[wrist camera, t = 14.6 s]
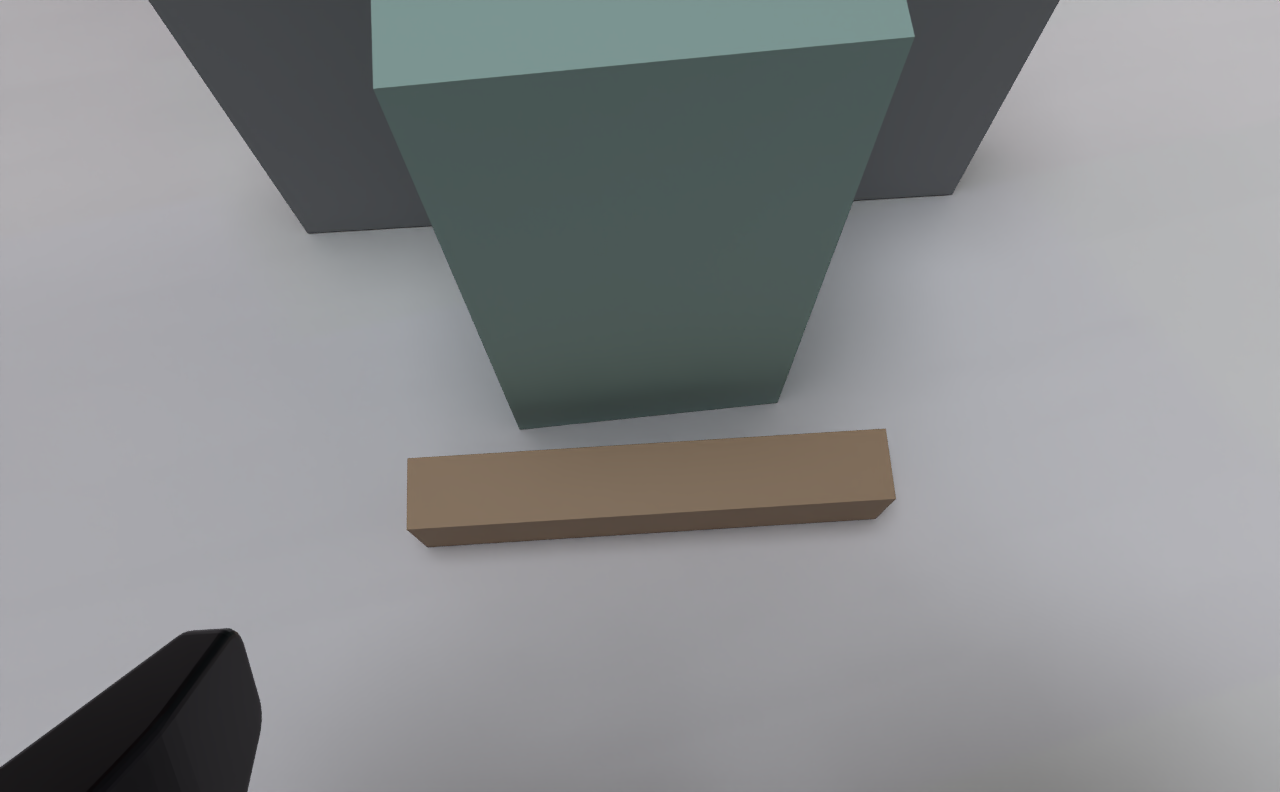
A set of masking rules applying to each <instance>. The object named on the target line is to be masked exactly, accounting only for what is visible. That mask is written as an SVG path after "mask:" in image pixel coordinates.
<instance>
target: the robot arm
mask: <svg viewBox="0 0 1280 792" xmlns="http://www.w3.org/2000/svg"><path fill="white" fill-rule="evenodd" d="M261 722H262V711H261V703H260V699H259V695H258V692H257V688H256V685H255V681H254V678H253V674H252V671H251V667H250V664H249V660H248V657H247V653H246V650H245V646H244V643H243V641H242V639H241V637H240V635H239V634H238V633H237V632H236V631H234V630H232V629H229V628H224V629H207V630H193V631H187V632H184V633H182V634H181V635H179V636H178V637H176V638H175V639H173V640H172V641H171V642H169V643H168V644H167V645H165V646H164V647H163V648H161V649H160V650H159V651H157V652H156V653H154V654H153V655H152V656H150V657H149V658H148V659H146V660H145V661H144V662H142V663H141V664H140V665H138V666H137V667H136V668H134V669H133V670H131V671H130V672H129V673H127V674H126V675H125V676H123V677H122V678H121V679H119V680H118V681H117V682H115V683H114V684H112V685H111V686H110V687H108V688H107V689H106V690H104V691H103V692H102V693H100V694H99V695H98V696H96V697H95V698H94V699H92V700H91V701H89V702H88V703H87V704H85V705H84V706H83V707H81V708H80V709H79V710H77V711H76V712H75V713H73V714H72V715H70V716H69V717H68V718H66V719H65V720H64V721H62V722H61V723H60V724H58V725H57V726H56V727H54V728H53V729H52V730H50V731H49V732H47V733H46V734H45V735H43V736H42V737H41V738H39V739H38V740H37V741H35V742H34V743H33V744H31V745H30V746H28V747H27V748H26V749H24V750H23V751H22V752H20V753H19V754H18V755H16V756H15V757H14V758H12V759H11V760H10V761H8V762H7V763H5V764H4V765H3V766H1V767H0V792H247V791H248V786H249V782H250V777H251V773H252V768H253V763H254V759H255V754H256V750H257V745H258V741H259V736H260V731H261Z"/></svg>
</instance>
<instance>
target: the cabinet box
mask: <svg viewBox="0 0 1280 792" xmlns="http://www.w3.org/2000/svg"><path fill="white" fill-rule="evenodd" d="M371 25H372V64H373V90H374V92H375V94H376V97H377V99H378V101H379V104H380V106H381V108H382V111H383V113H384V115H385V118H386V120H387V122H388V125H389V127H390V129H391V131H392V134H393V136H394V138H395V141H396V143H397V145H398V148H399V150H400V152H401V155H402V157H403V159H404V162H405V164H406V166H407V169H408V171H409V173H410V176H411V178H412V180H413V183H414V185H415V187H416V190H417V192H418V194H419V197H420V199H421V201H422V204H423V206H424V208H425V211H426V213H427V215H428V217H429V220H430V222H431V224H432V227H433V229H434V231H435V234H436V236H437V238H438V241H439V243H440V245H441V248H442V250H443V252H444V255H445V257H446V259H447V262H448V264H449V266H450V269H451V271H452V273H453V276H454V278H455V280H456V283H457V285H458V287H459V290H460V292H461V294H462V297H463V299H464V301H465V304H466V306H467V308H468V310H469V313H470V315H471V317H472V320H473V322H474V324H475V327H476V329H477V331H478V334H479V336H480V338H481V341H482V343H483V345H484V348H485V350H486V352H487V355H488V357H489V359H490V362H491V364H492V366H493V369H494V371H495V373H496V376H497V378H498V380H499V383H500V385H501V387H502V390H503V392H504V394H505V396H506V399H507V401H508V403H509V406H510V408H511V410H512V413H513V415H514V417H515V420H516V422H517V424H518V427H519V429H530V428H539V427H549V426H558V425H568V424H578V423H587V422H597V421H606V420H616V419H626V418H635V417H645V416H654V415H664V414H674V413H683V412H693V411H702V410H712V409H722V408H731V407H741V406H750V405H760V404H770V403H777V402H778V399H779V397H780V394H781V391H782V389H783V386H784V383H785V381H786V378H787V375H788V373H789V370H790V367H791V365H792V362H793V359H794V357H795V354H796V351H797V349H798V346H799V343H800V341H801V338H802V336H803V333H804V330H805V328H806V325H807V322H808V320H809V317H810V314H811V312H812V309H813V306H814V304H815V301H816V298H817V296H818V293H819V290H820V288H821V285H822V282H823V280H824V277H825V274H826V272H827V269H828V266H829V264H830V261H831V258H832V256H833V253H834V250H835V248H836V245H837V242H838V240H839V237H840V234H841V232H842V229H843V226H844V224H845V221H846V218H847V216H848V213H849V211H850V208H851V205H852V203H853V200H854V197H855V195H856V192H857V189H858V187H859V184H860V181H861V179H862V176H863V173H864V171H865V168H866V165H867V163H868V160H869V157H870V155H871V152H872V149H873V147H874V144H875V141H876V139H877V136H878V133H879V131H880V128H881V125H882V123H883V120H884V117H885V115H886V112H887V109H888V107H889V104H890V101H891V99H892V96H893V93H894V91H895V88H896V86H897V83H898V80H899V78H900V75H901V72H902V70H903V67H904V64H905V62H906V59H907V56H908V54H909V51H910V48H911V46H912V43H913V40H914V38H915V35H914V31H913V26H912V22H911V18H910V13H909V9H908V5H907V0H371Z"/></svg>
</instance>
